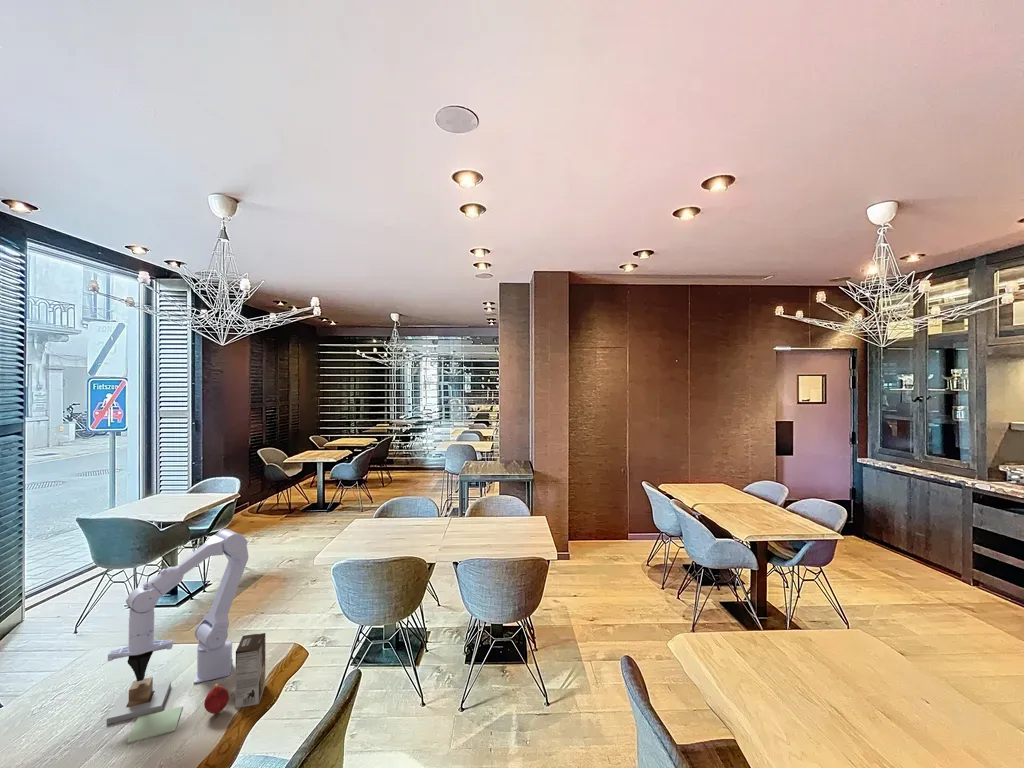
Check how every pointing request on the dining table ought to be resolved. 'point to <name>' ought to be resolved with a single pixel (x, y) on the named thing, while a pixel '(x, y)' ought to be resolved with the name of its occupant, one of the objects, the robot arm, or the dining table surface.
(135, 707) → the pocket board
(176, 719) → the felt mat
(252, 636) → the coffee box
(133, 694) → the walnut block
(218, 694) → the onion
